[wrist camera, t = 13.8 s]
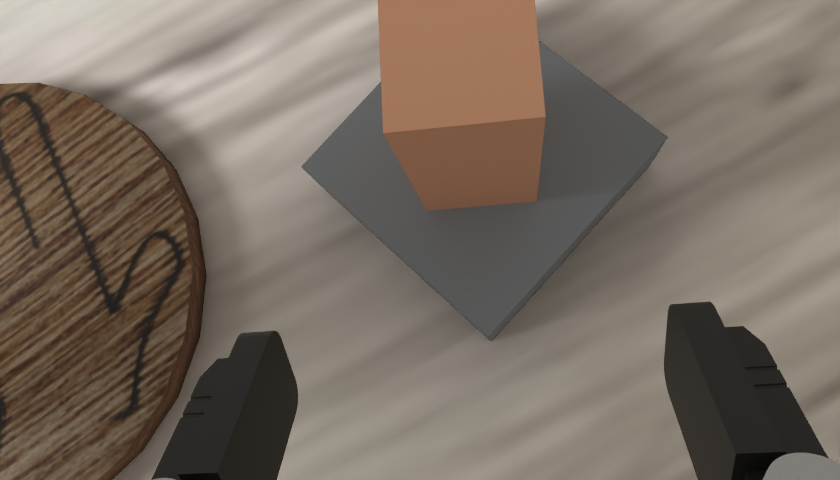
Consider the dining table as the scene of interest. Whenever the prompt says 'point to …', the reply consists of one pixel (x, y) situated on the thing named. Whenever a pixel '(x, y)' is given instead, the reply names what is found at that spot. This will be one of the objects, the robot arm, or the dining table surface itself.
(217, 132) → the dining table surface
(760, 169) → the dining table surface
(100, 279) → the trivet
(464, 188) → the terracotta block
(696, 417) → the robot arm
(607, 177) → the charcoal plinth
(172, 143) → the dining table surface
